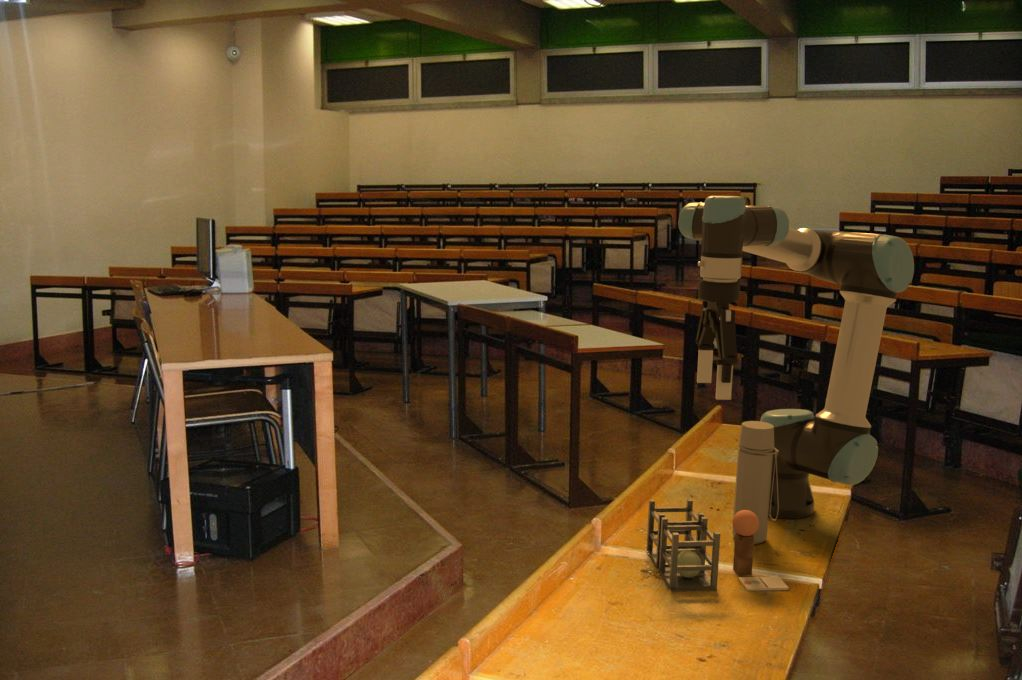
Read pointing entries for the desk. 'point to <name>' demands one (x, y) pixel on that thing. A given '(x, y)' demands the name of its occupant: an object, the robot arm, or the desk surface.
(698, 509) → the desk surface
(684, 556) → the ball sage
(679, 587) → the dark open frame crate
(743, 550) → the peg stand
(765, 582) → the card
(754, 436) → the water bottle
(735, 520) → the ball terracotta
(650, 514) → the wireframe cube
